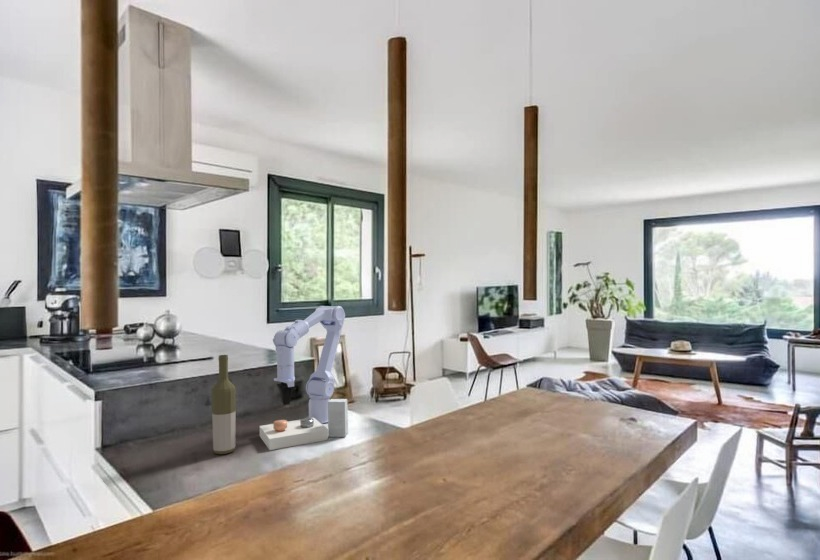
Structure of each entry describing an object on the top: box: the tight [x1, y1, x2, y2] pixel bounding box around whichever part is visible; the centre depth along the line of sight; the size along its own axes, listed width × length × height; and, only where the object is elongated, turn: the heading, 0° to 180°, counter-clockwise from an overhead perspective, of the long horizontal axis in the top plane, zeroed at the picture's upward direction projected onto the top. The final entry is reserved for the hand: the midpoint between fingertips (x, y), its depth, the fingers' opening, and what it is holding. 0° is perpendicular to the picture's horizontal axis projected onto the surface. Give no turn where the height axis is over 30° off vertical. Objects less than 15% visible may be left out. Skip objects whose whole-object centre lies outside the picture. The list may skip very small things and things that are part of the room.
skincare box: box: [327, 398, 349, 438], centre depth 158 cm, size 6×4×12 cm
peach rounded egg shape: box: [272, 419, 288, 432], centre depth 153 cm, size 4×4×5 cm
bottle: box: [211, 354, 237, 455], centre depth 144 cm, size 7×7×30 cm
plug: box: [299, 417, 314, 428], centre depth 157 cm, size 4×4×5 cm
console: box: [259, 417, 329, 451], centre depth 156 cm, size 16×19×4 cm
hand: (286, 404), depth 160 cm, fingers closed
